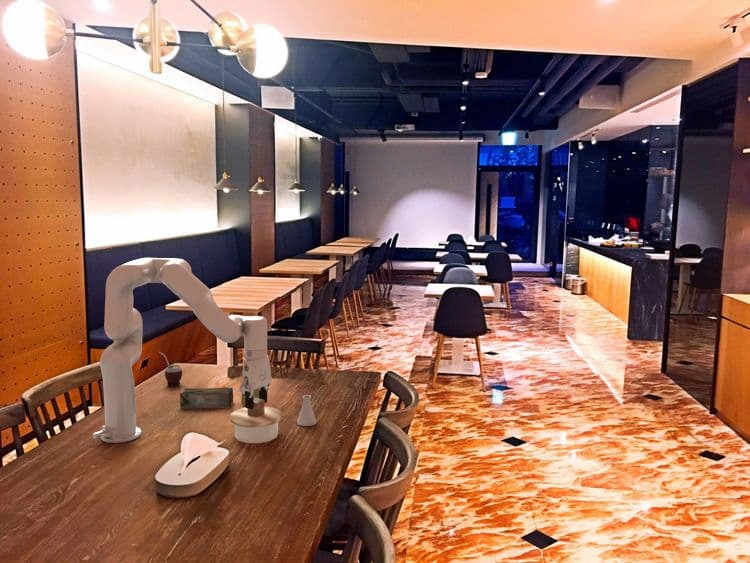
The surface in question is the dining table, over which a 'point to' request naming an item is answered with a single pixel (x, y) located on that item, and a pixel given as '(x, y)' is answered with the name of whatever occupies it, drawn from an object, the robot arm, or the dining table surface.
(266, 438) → the bowl
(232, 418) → the lid
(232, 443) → the dining table surface
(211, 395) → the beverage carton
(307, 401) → the flask
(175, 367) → the mate gourd
